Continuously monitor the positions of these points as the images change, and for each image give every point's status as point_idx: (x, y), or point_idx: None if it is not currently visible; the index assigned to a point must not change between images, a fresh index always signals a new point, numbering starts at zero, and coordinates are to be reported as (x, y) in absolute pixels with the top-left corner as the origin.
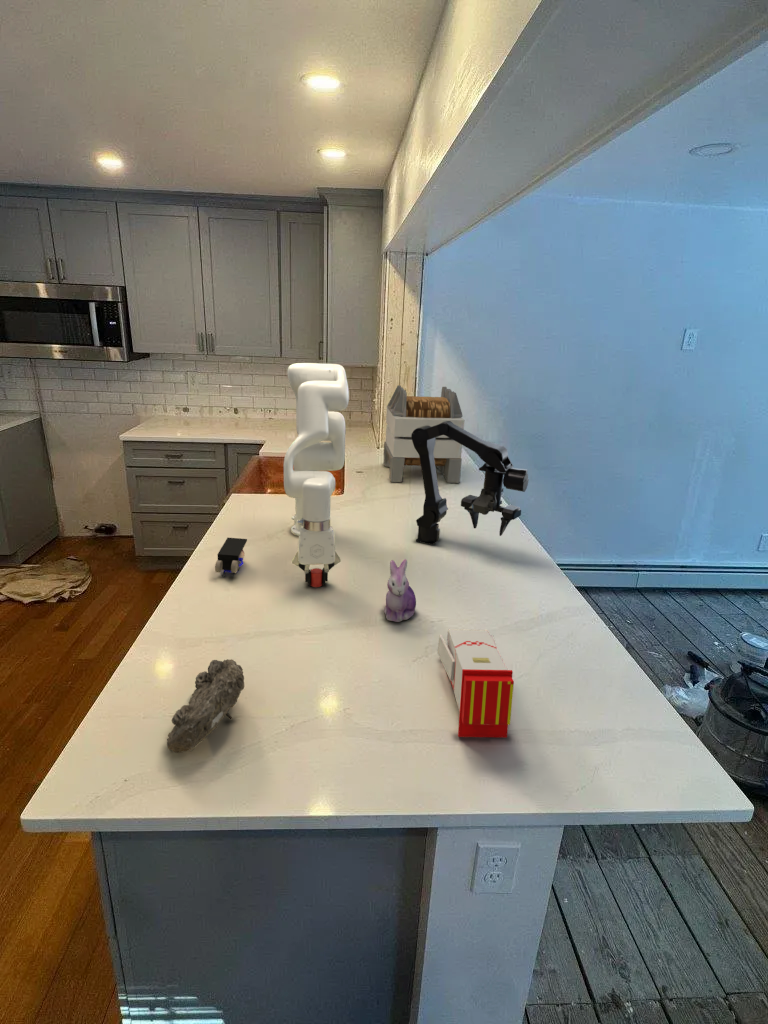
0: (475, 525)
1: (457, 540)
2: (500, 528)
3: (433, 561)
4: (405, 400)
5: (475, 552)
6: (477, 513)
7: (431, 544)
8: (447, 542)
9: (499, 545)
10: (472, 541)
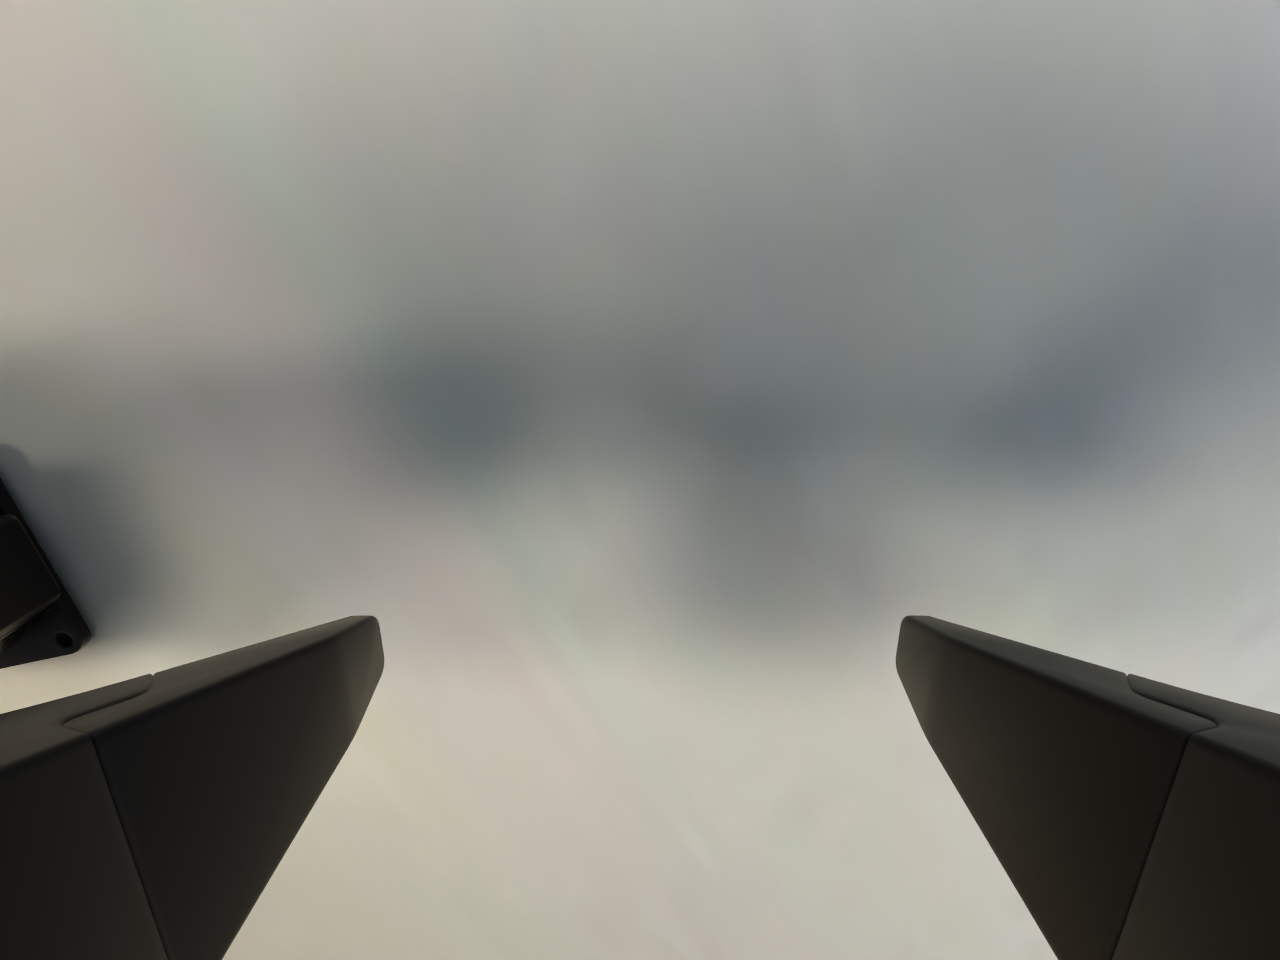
0: (360, 697)
1: (143, 317)
2: (981, 819)
3: (369, 887)
4: None
5: (524, 492)
6: (148, 816)
7: (75, 649)
8: (120, 460)
9: (640, 47)
10: (289, 200)
